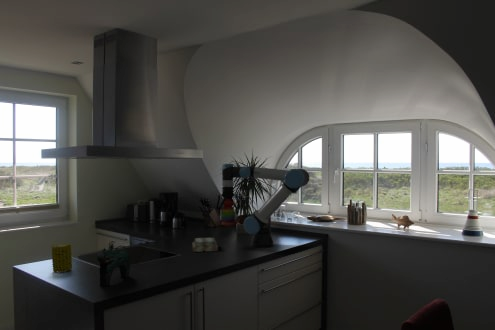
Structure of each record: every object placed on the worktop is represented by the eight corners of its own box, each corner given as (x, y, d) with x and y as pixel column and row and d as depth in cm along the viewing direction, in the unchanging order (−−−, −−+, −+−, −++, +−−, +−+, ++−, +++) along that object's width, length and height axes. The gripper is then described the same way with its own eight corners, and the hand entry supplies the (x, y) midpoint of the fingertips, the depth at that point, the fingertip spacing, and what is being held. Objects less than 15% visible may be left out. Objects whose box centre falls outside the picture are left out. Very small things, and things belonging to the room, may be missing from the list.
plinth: (215, 245, 270) (215, 237, 270) (217, 250, 254) (217, 241, 254) (192, 246, 267) (192, 237, 267) (192, 251, 252) (192, 242, 252)
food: (57, 277, 202) (51, 274, 210) (80, 267, 210) (73, 265, 218) (49, 249, 200) (43, 247, 208) (72, 241, 208) (66, 239, 216)
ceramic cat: (105, 288, 180) (104, 244, 180) (94, 286, 182) (93, 243, 182) (132, 276, 198) (132, 236, 198) (122, 275, 201) (122, 236, 200)
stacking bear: (234, 225, 261) (233, 199, 261) (219, 225, 263) (219, 199, 263) (237, 223, 271) (237, 197, 271) (223, 223, 273) (223, 197, 273)
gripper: (242, 185, 272) (243, 217, 272) (211, 186, 269) (211, 218, 269) (244, 186, 265) (244, 219, 265) (212, 186, 261) (212, 220, 262)
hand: (228, 219), depth 267 cm, fingers closed on stacking bear, 9 cm apart
